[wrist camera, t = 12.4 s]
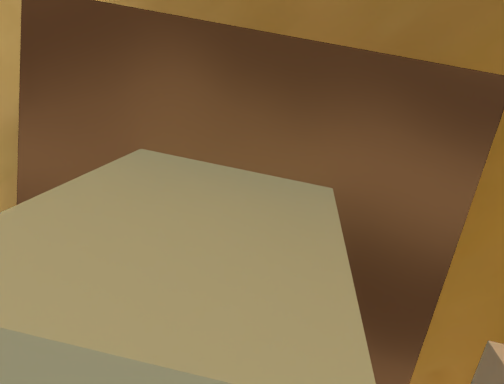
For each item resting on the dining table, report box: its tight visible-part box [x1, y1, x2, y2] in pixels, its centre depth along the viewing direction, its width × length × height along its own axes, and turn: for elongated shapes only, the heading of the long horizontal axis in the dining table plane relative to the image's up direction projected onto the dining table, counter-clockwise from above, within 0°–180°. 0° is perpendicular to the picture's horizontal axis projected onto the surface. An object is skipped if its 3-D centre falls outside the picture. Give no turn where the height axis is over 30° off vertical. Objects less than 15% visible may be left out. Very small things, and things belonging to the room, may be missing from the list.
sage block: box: [0, 149, 376, 384], centre depth 10 cm, size 6×6×9 cm
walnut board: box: [17, 0, 504, 384], centre depth 16 cm, size 14×14×5 cm
